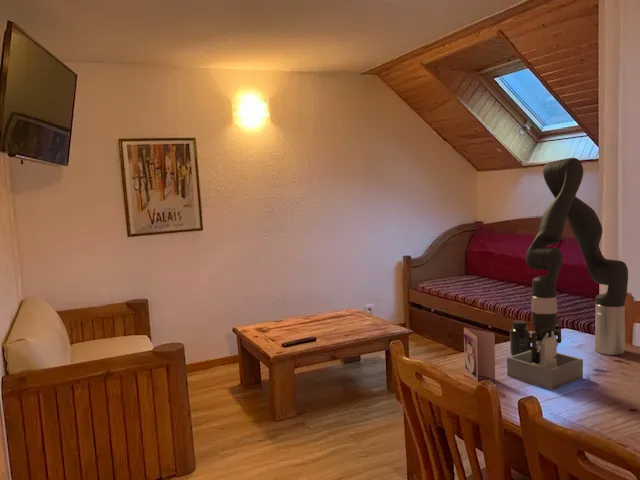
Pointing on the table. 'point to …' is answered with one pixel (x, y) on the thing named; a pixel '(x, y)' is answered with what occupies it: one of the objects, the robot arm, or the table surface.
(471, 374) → the greeting card
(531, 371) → the crate
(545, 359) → the skincare box
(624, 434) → the table surface
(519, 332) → the supplement bottle
